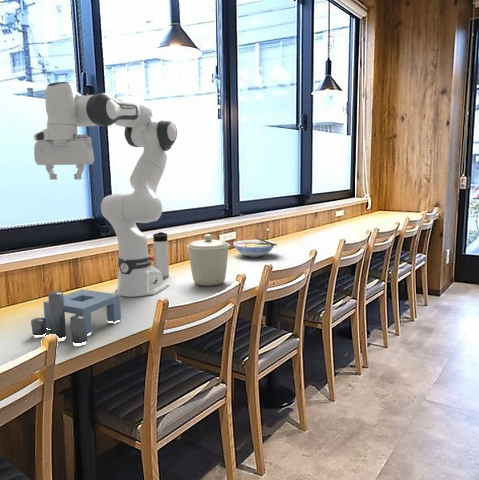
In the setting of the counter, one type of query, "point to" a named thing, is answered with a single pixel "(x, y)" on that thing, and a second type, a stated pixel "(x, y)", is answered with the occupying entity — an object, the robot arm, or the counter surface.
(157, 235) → the travel mug
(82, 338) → the medium steel pin
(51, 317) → the tall steel pin
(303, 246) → the counter surface
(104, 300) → the grey legged square frame
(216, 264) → the canister
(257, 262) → the counter surface
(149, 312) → the counter surface
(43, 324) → the short steel pin
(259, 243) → the ramen bowl
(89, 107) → the robot arm
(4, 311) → the counter surface
